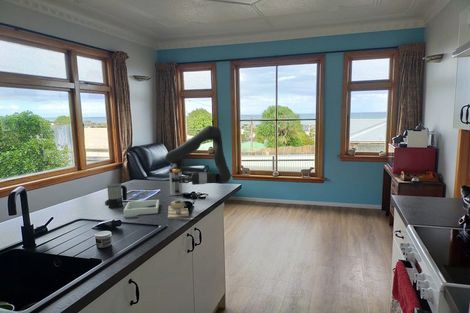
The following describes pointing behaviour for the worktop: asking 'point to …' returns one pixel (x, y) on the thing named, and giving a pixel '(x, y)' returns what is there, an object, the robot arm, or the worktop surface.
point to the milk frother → (116, 195)
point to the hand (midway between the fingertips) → (171, 179)
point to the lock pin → (176, 175)
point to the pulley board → (173, 212)
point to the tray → (140, 208)
